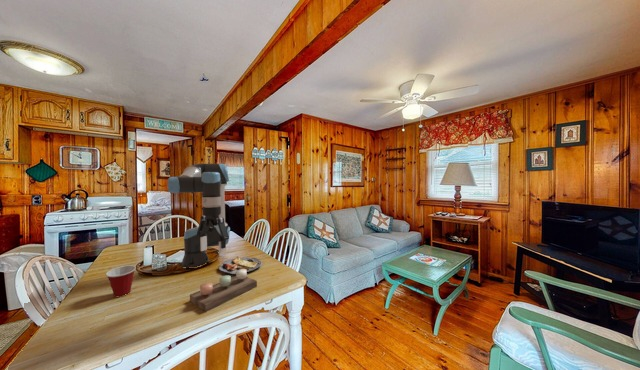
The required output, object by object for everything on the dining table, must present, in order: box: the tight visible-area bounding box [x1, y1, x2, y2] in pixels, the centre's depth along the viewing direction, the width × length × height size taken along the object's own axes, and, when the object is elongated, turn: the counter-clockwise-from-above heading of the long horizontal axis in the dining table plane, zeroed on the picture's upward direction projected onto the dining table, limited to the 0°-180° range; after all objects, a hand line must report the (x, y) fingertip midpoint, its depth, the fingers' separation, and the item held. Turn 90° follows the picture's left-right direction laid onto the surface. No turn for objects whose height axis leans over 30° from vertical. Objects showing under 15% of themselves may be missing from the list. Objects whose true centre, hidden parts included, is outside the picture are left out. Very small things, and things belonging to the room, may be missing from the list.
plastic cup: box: [105, 264, 137, 297], centre depth 106 cm, size 11×11×12 cm
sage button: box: [219, 274, 232, 286], centre depth 106 cm, size 5×5×3 cm
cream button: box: [235, 269, 248, 279], centre depth 113 cm, size 5×5×3 cm
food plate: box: [218, 256, 263, 275], centre depth 137 cm, size 25×23×4 cm
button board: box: [189, 275, 258, 313], centre depth 106 cm, size 14×26×3 cm, turn 144°
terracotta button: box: [199, 282, 214, 295], centre depth 99 cm, size 5×5×3 cm
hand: (212, 252), depth 101 cm, fingers open, 13 cm apart
